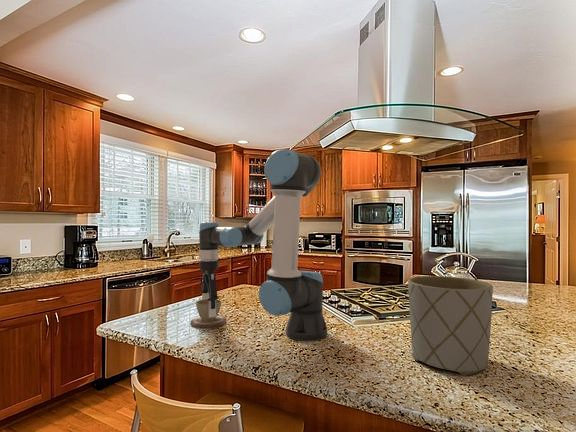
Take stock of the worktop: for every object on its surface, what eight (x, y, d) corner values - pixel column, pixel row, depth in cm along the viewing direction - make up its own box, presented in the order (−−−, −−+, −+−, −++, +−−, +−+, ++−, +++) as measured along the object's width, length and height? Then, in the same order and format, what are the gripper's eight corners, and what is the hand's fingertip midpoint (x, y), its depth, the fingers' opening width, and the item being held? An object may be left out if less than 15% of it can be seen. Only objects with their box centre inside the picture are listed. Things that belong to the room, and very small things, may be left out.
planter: (394, 360, 103) (394, 281, 103) (427, 341, 119) (427, 273, 119) (477, 387, 87) (477, 293, 87) (502, 361, 103) (502, 282, 103)
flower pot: (218, 323, 134) (218, 304, 134) (192, 322, 134) (192, 304, 134) (223, 316, 144) (223, 298, 144) (199, 315, 144) (199, 298, 144)
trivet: (229, 325, 136) (230, 322, 136) (193, 330, 130) (193, 326, 130) (221, 316, 149) (221, 313, 149) (188, 320, 143) (188, 316, 143)
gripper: (225, 262, 130) (225, 319, 129) (211, 256, 152) (211, 304, 152) (205, 263, 127) (205, 322, 126) (194, 257, 149) (194, 306, 149)
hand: (208, 312), depth 139 cm, fingers open, 13 cm apart
